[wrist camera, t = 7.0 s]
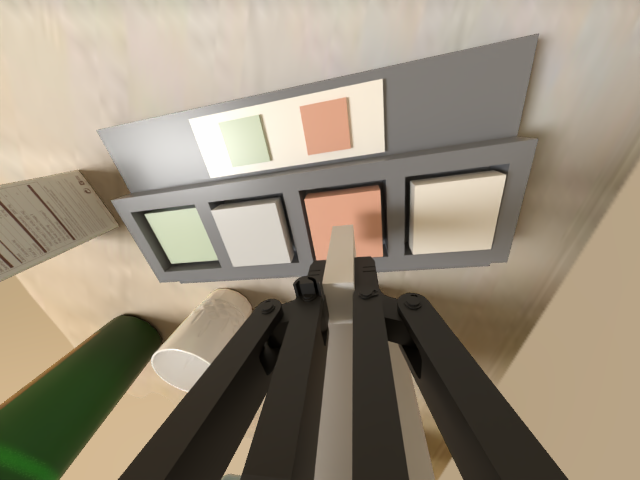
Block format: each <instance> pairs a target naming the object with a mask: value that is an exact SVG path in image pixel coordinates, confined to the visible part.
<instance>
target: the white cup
mask: <svg viewBox="0 0 640 480" xmlns="http://www.w3.org/2000/svg"><path fill="white" fill-rule="evenodd" d="M251 313H252V306H251V304H250V303H249V301H248V300H247V298H245V297H244V296H243V295H241V294H240V293H239V292H236V291H233V290H230V289H217V290H215V291H213V292H211V293H210V294H209V295H208V296H207V297H206V298H205V299H204V301H203V302H202V303H201V304H200V305H199V306H198V307H196V308H195V309H194V310H193V312H192V313H191V314H190V315H189V316H188V317H187V318H186V319H185V320H184V321H183V322H182V323H181V324H180V326H179V327H178V328H177V329H176V330H175V331H174V332H173V333H172V334H171V336H170V337H169V338H168V339H167V340H166V341H165V342H164V343H163V344H162V345H161V347H160V348H159V349H158V350H157V351H156V352H155V353H154V354H153V356H152V358H151V364H152V367H153V369H154V370H155V372H156V373H157V374H158V375H159V376H160V377H161V378H162V379H163V380H164V381H166V382H167V383H169V384H170V385H172V386H174V387H176V388H178V389H180V390H183V391H186V392H189V391H190V389H191V388H192V387H193V386H194V384H195V383H196V382H197V381H198V379H199V378H200V377H201V376H202V374H203V373H204V372H205V371H206V369H207V368H208V367H209V366H210V364H211V363H212V362H213V361H214V359H215V358H216V357H217V356H218V354H219V353H220V352H221V351H222V349H223V348H224V347H225V346H226V344H227V343H228V342H229V341H230V339H231V338H232V337H233V336H234V334H235V333H236V332H237V331H238V330H239V328H240V327H241V326H242V325H243V323H244V322H245V321H246V320H247V318H248V317H249V316H250V315H251Z"/></svg>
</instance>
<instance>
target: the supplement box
mask: <svg viewBox="0 0 640 480" xmlns="http://www.w3.org/2000/svg"><path fill="white" fill-rule="evenodd" d="M118 226H119V225H118V223H117V222H116V220H115V219H114V217H113V216H112V215H111V213H110V212H109V210H108V209H107V208H106V206H105V205H104V204H103V202H102V201H101V199H100V198H99V197H98V195H97V194H96V193H95V191H94V190H93V189H92V187H91V186H90V185H89V183H88V182H87V180H86V179H85V178H84V176H83V175H82V174H81V173H80V172H79V171H78V170H76V171H70V172H65V173H60V174H55V175H50V176H45V177H40V178H35V179H29V180H24V181H18V182H13V183H8V184H2V185H0V282H1V281H3V280H5V279H7V278H9V277H12V276H14V275H16V274H18V273H20V272H22V271H25V270H27V269H29V268H31V267H33V266H35V265H38V264H40V263H42V262H44V261H46V260H48V259H51V258H53V257H55V256H57V255H59V254H61V253H64V252H66V251H68V250H70V249H72V248H74V247H76V246H78V245H81V244H83V243H85V242H87V241H89V240H91V239H93V238H95V237H97V236H99V235H102V234H104V233H106V232H108V231H110V230H112V229H114V228H116V227H118Z"/></svg>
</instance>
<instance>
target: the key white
mask: <svg viewBox="0 0 640 480" xmlns="http://www.w3.org/2000/svg"><path fill="white" fill-rule="evenodd" d="M505 179H506V174H503V173H500V172H498V171H495V170H491V171H483V172H475V173H467V174H459V175H451V176H443V177H435V178H427V179H419V180H411V181H410V214H409V247H410V249H411V251H412V254H413V255H415V254H429V253H444V252H458V251H473V250H487V249H491V247H492V242H493V237H494V232H495V227H496V223H497V218H498V213H499V208H500V203H501V199H502V194H503V189H504V184H505Z"/></svg>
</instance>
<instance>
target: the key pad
mask: <svg viewBox="0 0 640 480" xmlns="http://www.w3.org/2000/svg"><path fill="white" fill-rule="evenodd" d="M538 36H539V34H534V35H530V36H525V37H521V38H516V39H512V40H507V41H502V42H498V43H493V44H489V45H484V46H479V47H475V48H470V49H466V50H461V51H457V52H452V53H447V54H443V55H438V56H434V57H429V58H424V59H420V60H415V61H411V62H406V63H402V64H397V65H392V66H388V67H383V68H379V69H374V70H369V71H365V72H360V73H356V74H351V75H347V76H342V77H337V78H333V79H328V80H324V81H319V82H314V83H310V84H305V85H301V86H296V87H292V88H287V89H282V90H278V91H273V92H269V93H264V94H259V95H255V96H250V97H246V98H241V99H237V100H232V101H227V102H223V103H218V104H214V105H209V106H204V107H200V108H195V109H191V110H186V111H181V112H177V113H172V114H168V115H163V116H159V117H154V118H149V119H145V120H140V121H136V122H131V123H126V124H122V125H117V126H113V127H108V128H104V129H99V130H96V131H97V133H98V134H99V136H100V138H101V140H102V142H103V143H104V145H105V147H106V149H107V151H108V152H109V154H110V156H111V158H112V160H113V162H114V163H115V165H116V167H117V169H118V171H119V172H120V174H121V176H122V178H123V180H124V182H125V183H126V185H127V187H128V189H129V191H130V192H131V194H128V195H125V196H122V197H119V198H116V199H113V200H111V202H112V204H113V205H114V207H115V209H116V210H117V212H118V214H119V215H120V217H121V219H122V220H123V222H124V224H125V225H126V227H127V229H128V230H129V232H130V234H131V235H132V237H133V239H134V240H135V242H136V244H137V245H138V247H139V249H140V250H141V252H142V254H143V255H144V257H145V259H146V260H147V262H148V264H149V265H150V267H151V269H152V270H153V272H154V274H155V275H156V277H157V279H158V280H159V282H160V283H161V282H178V281H180V283H197V282H215V281H233V280H250V279H268V278H286V277H303V276H307V275H308V272H309V268H310V265H311V264H312V263H313V262H314V261H316V256H315V251H314V246H313V241H312V236H311V231H310V226H309V221H308V216H307V211H306V206H305V201H304V199H305V197H306V195H307V194H308V193H316V192H324V191H332V190H340V189H348V188H356V187H364V186H372V185H378V186H379V188H380V196H381V220H382V244H383V257H372V258H373V259H374V260H375V266H376V272H392V271H409V270H427V269H445V268H462V267H480V266H490V263H503V262H507V261H508V257H509V253H510V249H511V245H512V241H513V237H514V233H515V229H516V225H517V221H518V218H519V214H520V210H521V206H522V202H523V198H524V194H525V190H526V186H527V182H528V178H529V174H530V170H531V166H532V162H533V158H534V154H535V150H536V146H537V142H538V139H537V138H528V137H518V136H517V135H518V130H519V126H520V121H521V116H522V111H523V107H524V102H525V97H526V93H527V88H528V83H529V79H530V74H531V69H532V64H533V60H534V55H535V50H536V46H537V41H538ZM491 170H495V171H498V172H500V173H503V174H506V179H505V184H504V189H503V194H502V199H501V203H500V208H499V213H498V218H497V223H496V227H495V232H494V237H493V242H492V247H491V249H487V250H473V251H458V252H444V253H429V254H415V255H413V254H412V251H411V249H410V247H409V214H410V181H411V180H419V179H427V178H435V177H443V176H451V175H459V174H467V173H475V172H483V171H491ZM276 197H281V201H282V205H283V209H284V214H285V218H286V222H287V226H288V230H289V234H290V238H291V242H292V246H293V250H294V257H293V259H292V261H291V263H284V264H269V265H254V266H240V267H233V265H232V262H231V260H230V257H229V255H228V252H227V250H226V247H225V245H224V242H223V240H222V237H221V235H220V232H219V230H218V227H217V225H216V222H215V220H214V217H213V215H212V212H211V210H213V209H214V208H216V207H217V206H219V205H221V204H229V203H237V202H245V201H253V200H261V199H268V198H276ZM192 204H194V205H195V207H196V209H197V212H198V214H199V216H200V219H201V221H202V223H203V225H204V228H205V230H206V232H207V235H208V237H209V239H210V242H211V244H212V246H213V249H214V251H215V253H216V256H217V258H218V260H214V261H201V262H188V263H174V264H171V262H170V260H169V259H168V257H167V255H166V253H165V251H164V249H163V248H162V246H161V244H160V242H159V240H158V239H157V237H156V235H155V233H154V231H153V229H152V228H151V226H150V224H149V222H148V220H147V218H146V217H145V215H144V214H146V213H148V212H150V211H152V210H155V209H161V208H169V207H177V206H185V205H192Z"/></svg>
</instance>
